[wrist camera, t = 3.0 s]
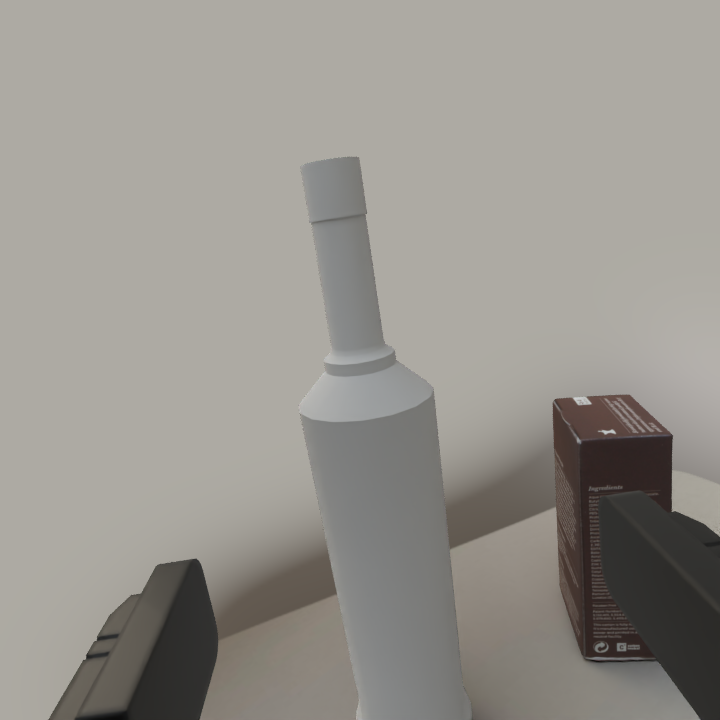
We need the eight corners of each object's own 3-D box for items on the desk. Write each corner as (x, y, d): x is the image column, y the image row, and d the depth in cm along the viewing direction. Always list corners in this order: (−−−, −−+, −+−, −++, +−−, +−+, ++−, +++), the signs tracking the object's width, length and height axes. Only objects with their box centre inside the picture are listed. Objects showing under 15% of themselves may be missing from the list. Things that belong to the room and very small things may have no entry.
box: (679, 661, 27) (676, 432, 24) (582, 663, 28) (568, 441, 25) (637, 582, 33) (631, 389, 30) (557, 584, 34) (544, 397, 31)
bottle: (346, 719, 27) (243, 180, 21) (441, 677, 28) (372, 164, 22) (387, 821, 22) (270, 159, 16) (499, 764, 23) (431, 141, 17)
